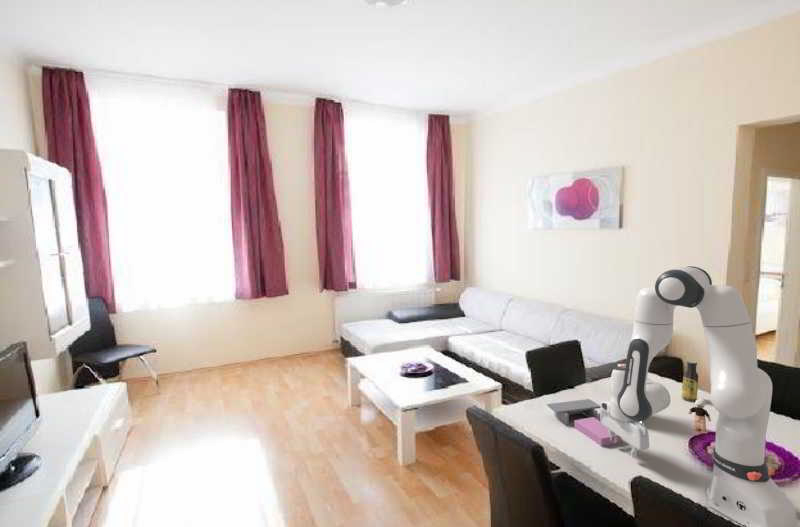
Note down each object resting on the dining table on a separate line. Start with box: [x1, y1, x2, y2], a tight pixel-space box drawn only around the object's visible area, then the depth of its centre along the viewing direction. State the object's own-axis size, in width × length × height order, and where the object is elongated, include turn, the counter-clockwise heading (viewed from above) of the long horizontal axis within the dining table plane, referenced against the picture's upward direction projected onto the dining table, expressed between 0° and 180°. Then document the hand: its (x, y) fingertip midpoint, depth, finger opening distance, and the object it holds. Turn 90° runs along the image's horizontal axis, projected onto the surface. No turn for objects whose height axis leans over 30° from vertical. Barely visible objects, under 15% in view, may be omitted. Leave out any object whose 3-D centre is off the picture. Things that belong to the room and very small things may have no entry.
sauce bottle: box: [681, 360, 699, 403], centre depth 189 cm, size 6×6×18 cm
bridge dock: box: [546, 398, 602, 426], centre depth 175 cm, size 10×20×5 cm, turn 101°
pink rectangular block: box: [573, 417, 623, 447], centre depth 161 cm, size 15×9×4 cm, turn 15°
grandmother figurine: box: [688, 398, 712, 434], centre depth 162 cm, size 8×4×13 cm, turn 41°
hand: (623, 448), depth 147 cm, fingers open, 8 cm apart
